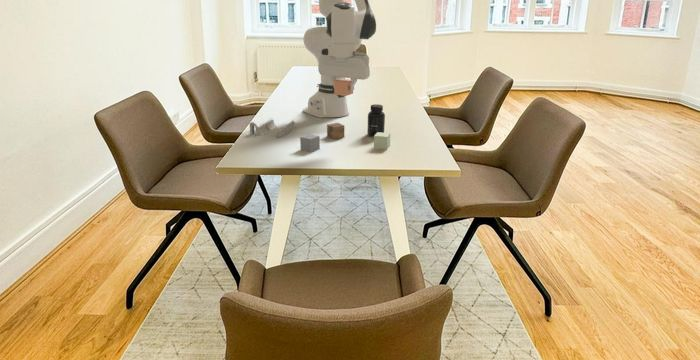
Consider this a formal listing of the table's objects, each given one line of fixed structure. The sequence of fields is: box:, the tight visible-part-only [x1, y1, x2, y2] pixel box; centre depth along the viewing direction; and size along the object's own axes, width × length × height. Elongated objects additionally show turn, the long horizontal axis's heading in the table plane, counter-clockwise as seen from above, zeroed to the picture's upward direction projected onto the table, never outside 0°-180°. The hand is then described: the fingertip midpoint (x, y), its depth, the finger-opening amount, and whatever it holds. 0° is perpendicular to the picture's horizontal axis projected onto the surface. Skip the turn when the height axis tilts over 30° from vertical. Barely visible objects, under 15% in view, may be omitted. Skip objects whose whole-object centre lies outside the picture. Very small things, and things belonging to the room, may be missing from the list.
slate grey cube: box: [299, 133, 321, 153], centre depth 195 cm, size 5×5×5 cm
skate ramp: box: [249, 117, 296, 138], centre depth 218 cm, size 15×13×5 cm
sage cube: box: [373, 132, 391, 151], centre depth 198 cm, size 5×5×5 cm
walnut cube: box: [326, 122, 345, 140], centre depth 210 cm, size 5×5×5 cm
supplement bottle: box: [366, 103, 386, 138], centre depth 212 cm, size 7×7×12 cm
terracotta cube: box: [334, 78, 354, 97], centre depth 194 cm, size 5×5×5 cm
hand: (343, 89), depth 195 cm, fingers closed on terracotta cube, 5 cm apart
